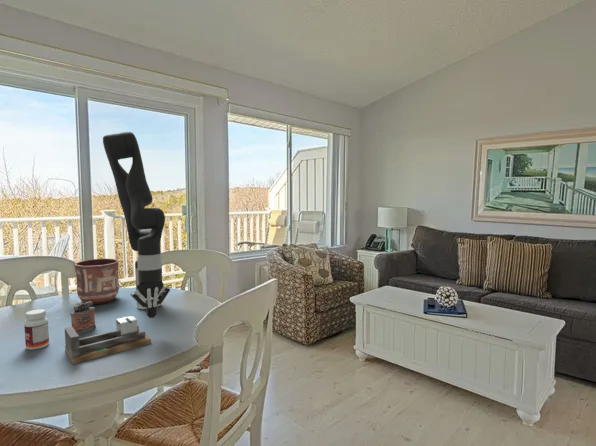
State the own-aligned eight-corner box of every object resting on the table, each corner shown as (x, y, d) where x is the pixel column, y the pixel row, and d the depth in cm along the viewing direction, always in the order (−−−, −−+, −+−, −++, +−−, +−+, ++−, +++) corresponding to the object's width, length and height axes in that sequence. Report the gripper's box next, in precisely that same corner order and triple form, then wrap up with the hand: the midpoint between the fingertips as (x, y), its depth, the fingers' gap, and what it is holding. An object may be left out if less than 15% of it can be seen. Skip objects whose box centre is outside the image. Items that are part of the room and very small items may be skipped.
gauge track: (138, 332, 128) (137, 311, 128) (151, 343, 119) (150, 320, 119) (65, 350, 114) (63, 327, 113) (73, 364, 105) (71, 338, 104)
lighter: (74, 335, 126) (72, 307, 125) (69, 333, 128) (67, 305, 127) (97, 328, 133) (96, 301, 132) (92, 326, 135) (91, 299, 134)
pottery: (66, 306, 158) (64, 265, 157) (94, 294, 176) (92, 257, 174) (103, 308, 156) (102, 266, 154) (128, 296, 173) (127, 259, 172)
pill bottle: (23, 346, 117) (21, 312, 116) (45, 340, 122) (43, 307, 121) (29, 352, 113) (26, 316, 112) (52, 345, 118) (49, 311, 117)
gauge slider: (132, 332, 123) (132, 314, 123) (140, 339, 118) (139, 319, 117) (116, 336, 120) (115, 317, 120) (123, 343, 115) (122, 323, 114)
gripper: (165, 263, 131) (166, 310, 132) (125, 268, 122) (127, 319, 123) (173, 266, 125) (174, 316, 126) (132, 271, 116) (134, 324, 118)
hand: (151, 317), depth 125 cm, fingers closed
